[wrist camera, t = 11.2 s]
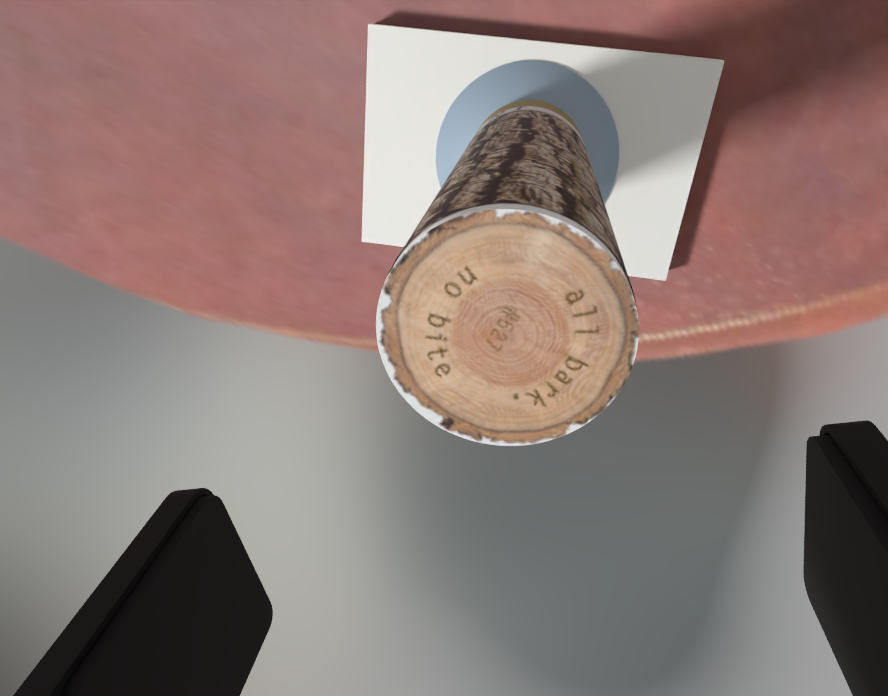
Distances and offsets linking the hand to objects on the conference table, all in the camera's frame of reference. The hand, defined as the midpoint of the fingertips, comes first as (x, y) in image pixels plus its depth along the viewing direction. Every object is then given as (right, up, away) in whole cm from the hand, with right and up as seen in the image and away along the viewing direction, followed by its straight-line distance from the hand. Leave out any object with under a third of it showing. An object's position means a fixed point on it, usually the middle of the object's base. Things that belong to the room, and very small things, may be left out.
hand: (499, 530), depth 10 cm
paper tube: (+4, +15, +29) cm, 32 cm away
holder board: (+4, +15, +30) cm, 34 cm away
